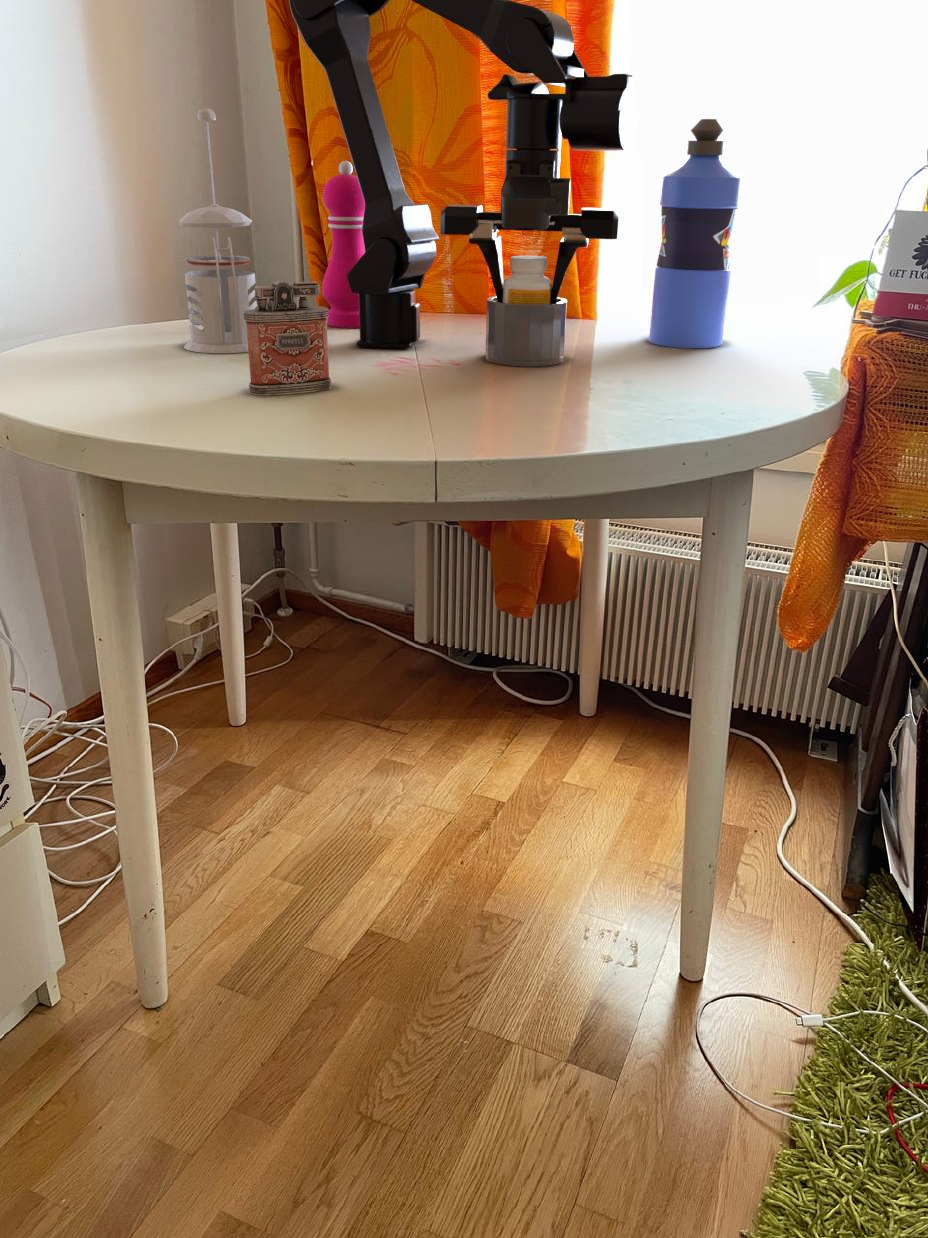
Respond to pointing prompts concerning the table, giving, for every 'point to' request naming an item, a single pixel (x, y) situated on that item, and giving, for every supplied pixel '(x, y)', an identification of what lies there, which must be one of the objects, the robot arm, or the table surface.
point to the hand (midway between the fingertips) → (526, 305)
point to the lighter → (287, 341)
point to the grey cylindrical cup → (525, 333)
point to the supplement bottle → (527, 281)
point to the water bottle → (695, 245)
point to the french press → (218, 280)
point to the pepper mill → (343, 246)
